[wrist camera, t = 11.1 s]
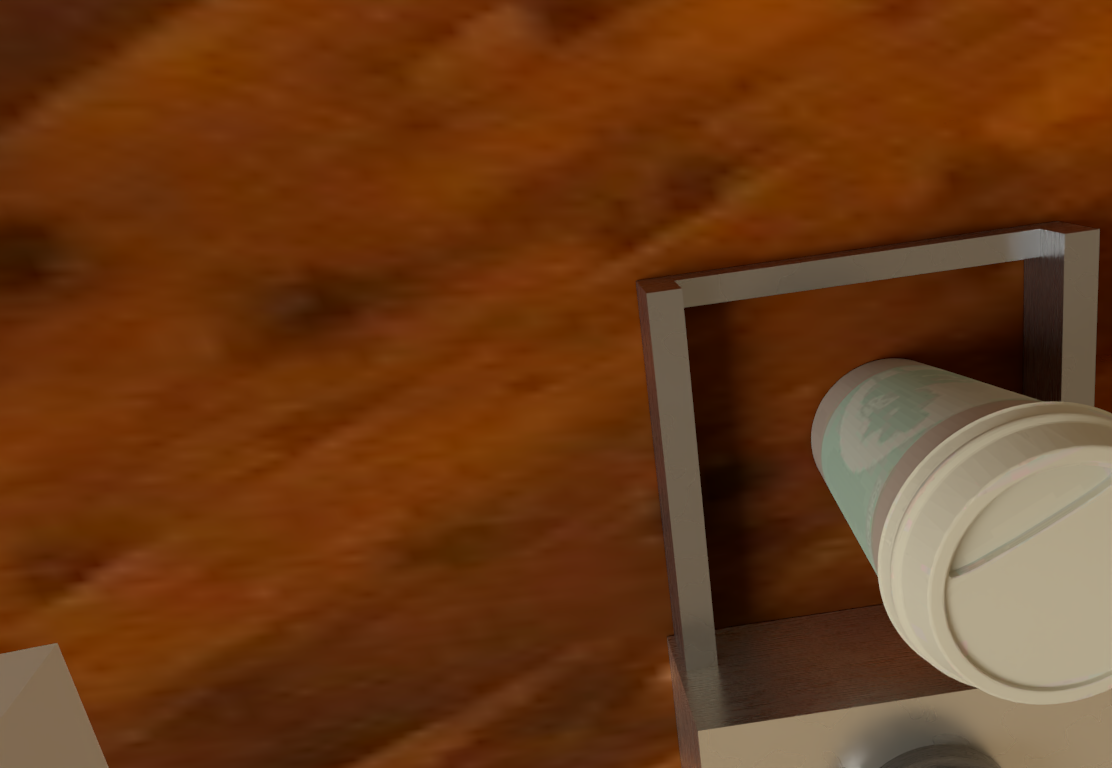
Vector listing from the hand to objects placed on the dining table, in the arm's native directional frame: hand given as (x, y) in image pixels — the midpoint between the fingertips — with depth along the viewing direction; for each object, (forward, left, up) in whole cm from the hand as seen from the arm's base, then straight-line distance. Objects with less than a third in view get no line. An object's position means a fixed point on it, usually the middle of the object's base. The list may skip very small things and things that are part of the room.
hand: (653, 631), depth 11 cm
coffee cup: (+8, +12, -24) cm, 28 cm away
